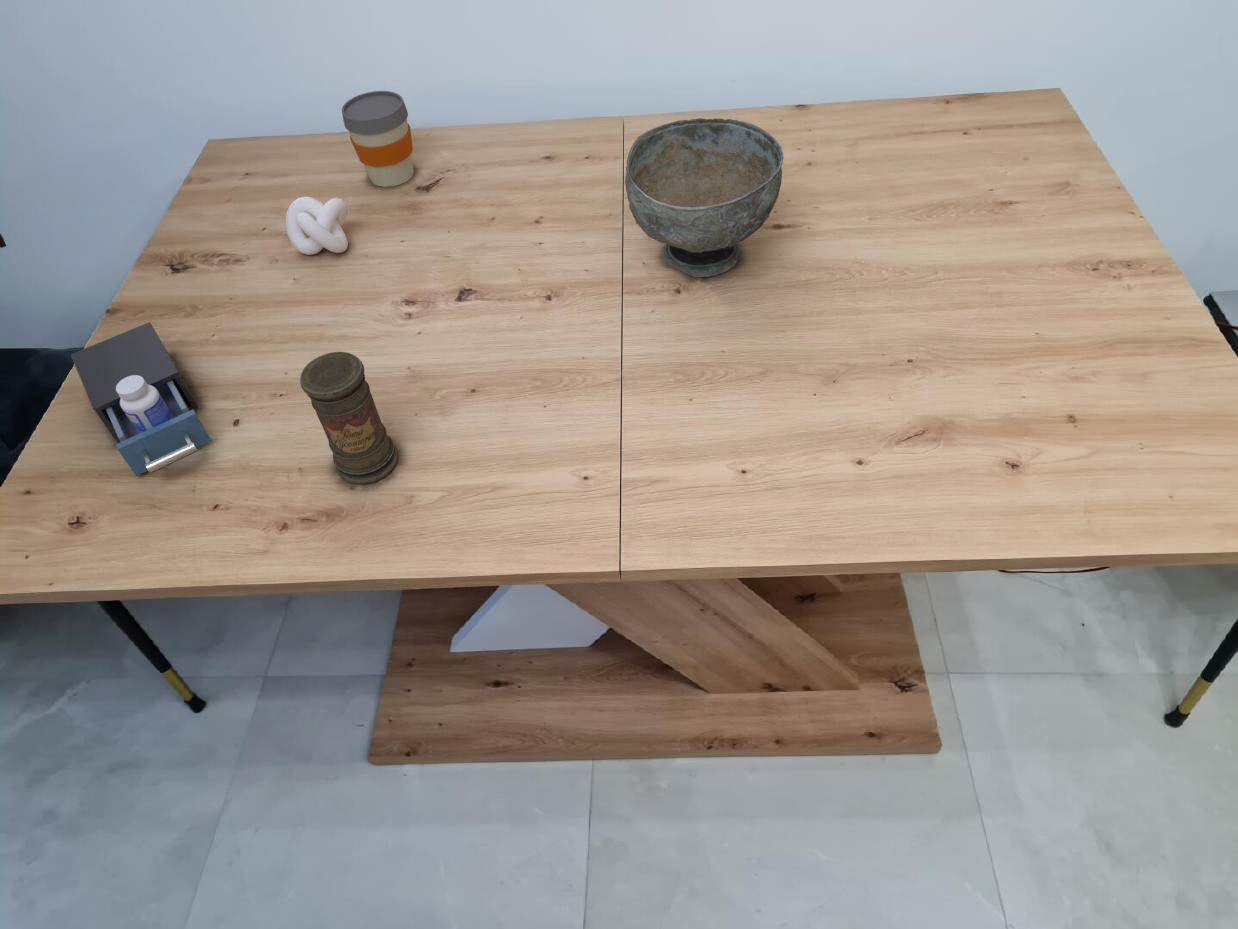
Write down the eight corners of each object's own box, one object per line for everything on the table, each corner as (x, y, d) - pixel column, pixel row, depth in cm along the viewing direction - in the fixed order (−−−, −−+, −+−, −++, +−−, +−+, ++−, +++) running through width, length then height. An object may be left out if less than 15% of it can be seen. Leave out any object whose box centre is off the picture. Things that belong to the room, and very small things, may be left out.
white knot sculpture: (366, 253, 168) (352, 211, 161) (302, 273, 165) (286, 231, 158) (351, 224, 175) (337, 182, 168) (290, 242, 172) (274, 201, 166)
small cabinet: (198, 407, 143) (177, 372, 137) (118, 444, 138) (93, 408, 133) (170, 356, 152) (149, 321, 146) (94, 389, 147) (70, 354, 142)
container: (331, 453, 134) (290, 362, 120) (389, 432, 136) (355, 341, 123) (344, 494, 128) (303, 404, 115) (405, 472, 130) (371, 380, 117)
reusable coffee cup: (372, 198, 181) (351, 127, 170) (354, 171, 189) (332, 102, 177) (431, 178, 184) (413, 108, 173) (410, 152, 192) (392, 84, 181)
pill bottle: (178, 414, 139) (150, 367, 132) (178, 437, 135) (148, 390, 128) (142, 423, 138) (111, 376, 131) (140, 447, 135) (109, 400, 127)
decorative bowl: (721, 195, 172) (721, 96, 157) (809, 261, 157) (819, 158, 142) (604, 250, 164) (592, 151, 149) (686, 324, 150) (682, 223, 134)
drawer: (221, 458, 133) (205, 431, 129) (144, 495, 130) (125, 468, 125) (183, 389, 144) (167, 362, 140) (111, 421, 141) (93, 394, 136)
